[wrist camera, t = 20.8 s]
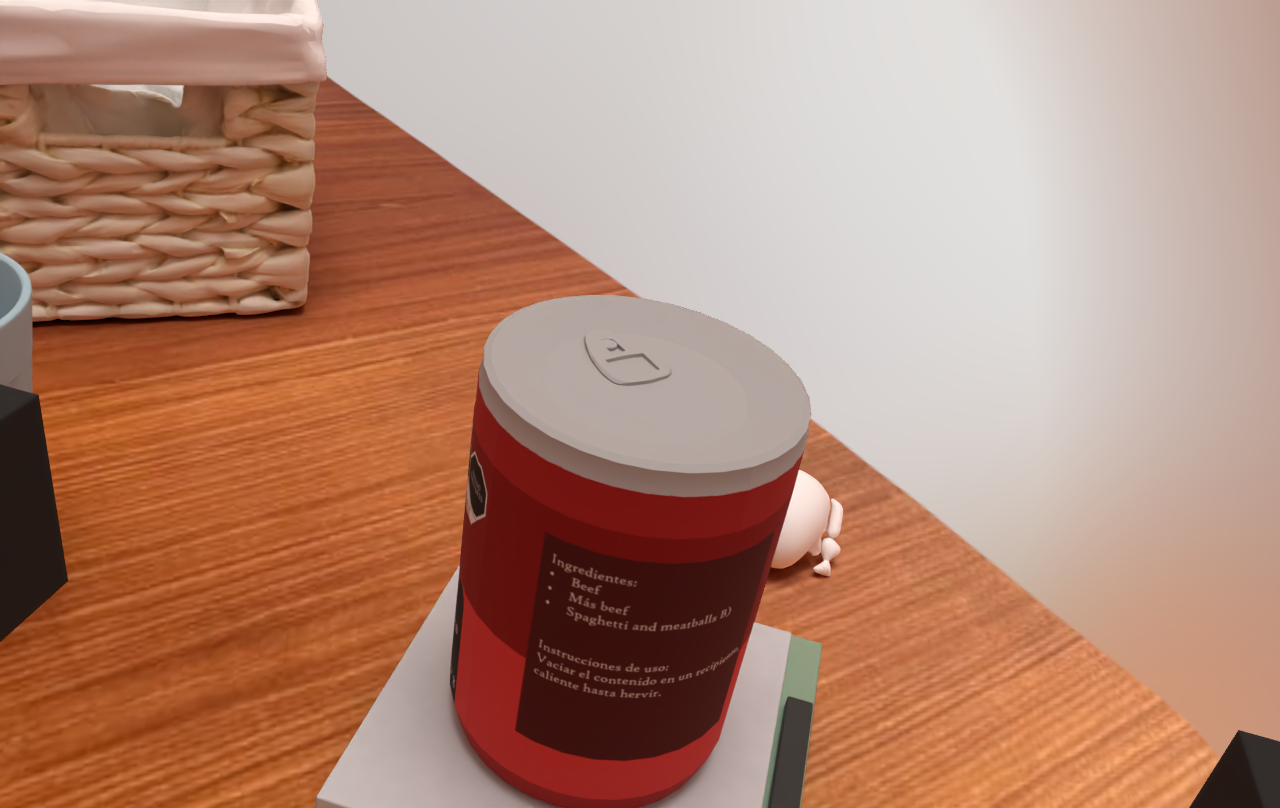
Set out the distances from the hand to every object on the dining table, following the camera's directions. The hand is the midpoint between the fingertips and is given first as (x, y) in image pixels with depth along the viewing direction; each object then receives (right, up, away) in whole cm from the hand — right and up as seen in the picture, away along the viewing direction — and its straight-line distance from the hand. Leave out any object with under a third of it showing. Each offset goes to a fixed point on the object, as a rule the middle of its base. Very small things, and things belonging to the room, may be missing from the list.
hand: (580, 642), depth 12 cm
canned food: (-1, -6, +19) cm, 20 cm away
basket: (-26, +12, +46) cm, 54 cm away
